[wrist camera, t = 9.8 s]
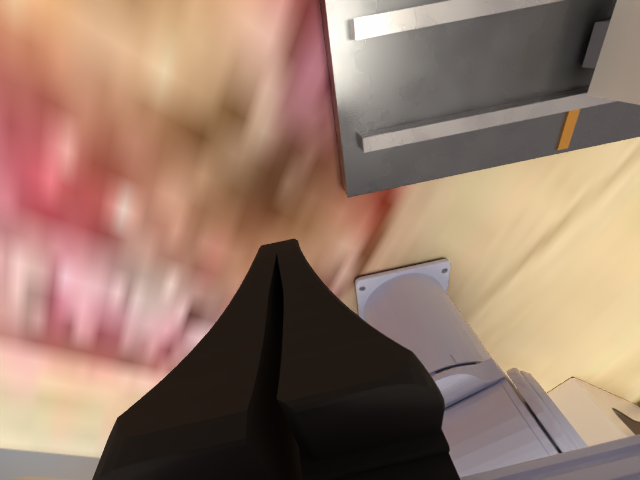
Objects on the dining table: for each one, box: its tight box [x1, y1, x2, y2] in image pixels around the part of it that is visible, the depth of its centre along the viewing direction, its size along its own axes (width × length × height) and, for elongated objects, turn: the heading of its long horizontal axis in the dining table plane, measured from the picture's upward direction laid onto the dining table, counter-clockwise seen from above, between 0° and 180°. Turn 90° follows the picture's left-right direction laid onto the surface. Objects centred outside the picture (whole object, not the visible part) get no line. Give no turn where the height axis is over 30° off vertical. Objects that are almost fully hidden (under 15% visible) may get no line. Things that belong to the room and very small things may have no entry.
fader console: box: [320, 0, 640, 197], centre depth 16 cm, size 12×24×2 cm, turn 99°
